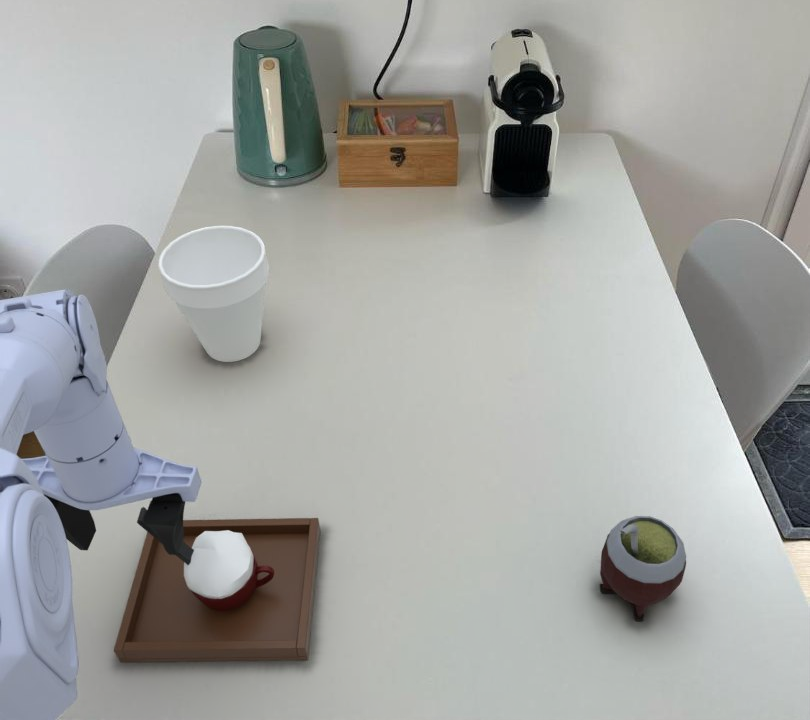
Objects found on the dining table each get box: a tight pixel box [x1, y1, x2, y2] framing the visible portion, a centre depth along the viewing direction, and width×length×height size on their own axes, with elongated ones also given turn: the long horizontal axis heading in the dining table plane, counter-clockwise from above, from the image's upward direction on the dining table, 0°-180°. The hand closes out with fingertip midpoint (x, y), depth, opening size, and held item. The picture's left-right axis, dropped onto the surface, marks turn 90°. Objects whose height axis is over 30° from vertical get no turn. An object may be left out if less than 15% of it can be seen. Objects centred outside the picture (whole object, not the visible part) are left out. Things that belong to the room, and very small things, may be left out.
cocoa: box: [136, 506, 274, 611], centre depth 71 cm, size 10×6×12 cm, turn 67°
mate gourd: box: [599, 515, 687, 622], centre depth 69 cm, size 8×8×15 cm
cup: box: [157, 225, 270, 363], centre depth 97 cm, size 12×12×14 cm
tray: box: [113, 517, 322, 663], centre depth 75 cm, size 17×14×2 cm
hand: (132, 542), depth 68 cm, fingers open, 7 cm apart
